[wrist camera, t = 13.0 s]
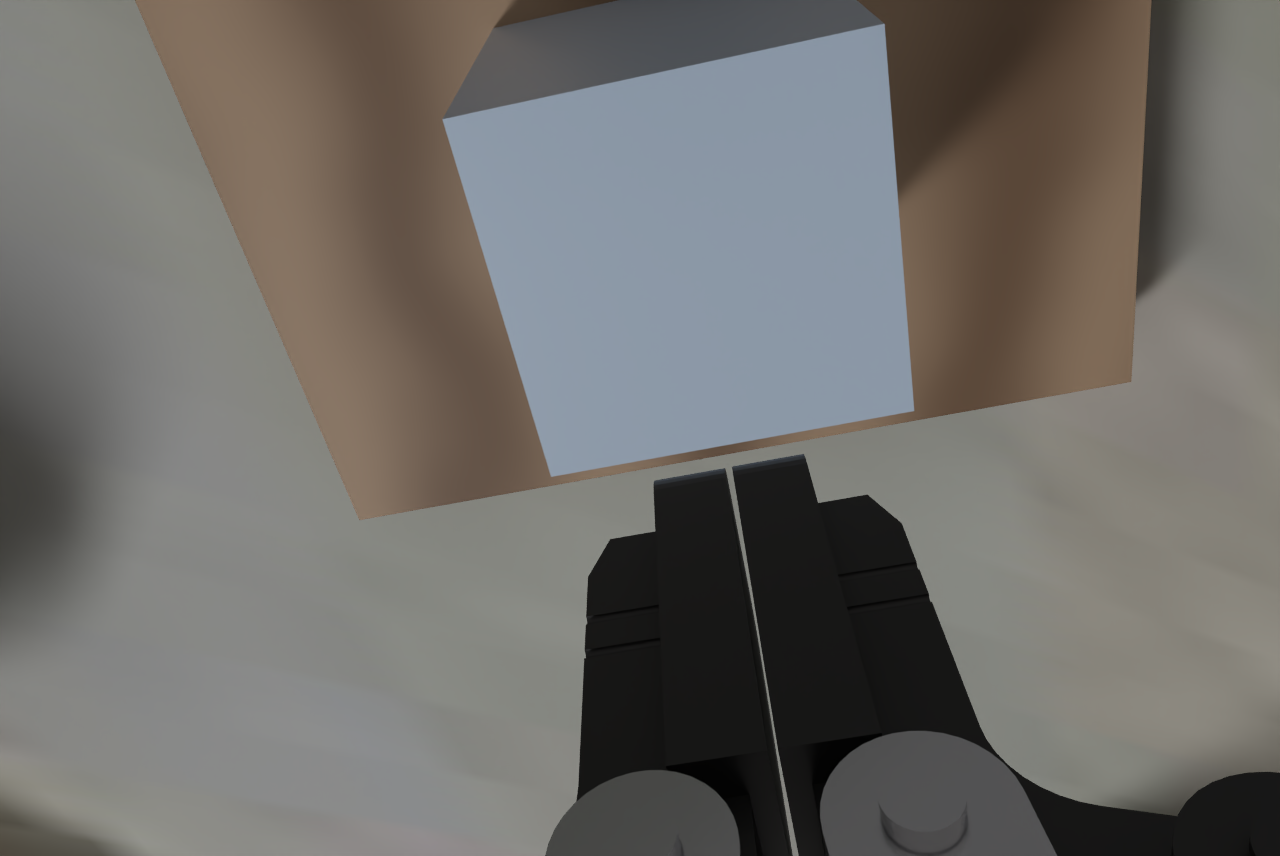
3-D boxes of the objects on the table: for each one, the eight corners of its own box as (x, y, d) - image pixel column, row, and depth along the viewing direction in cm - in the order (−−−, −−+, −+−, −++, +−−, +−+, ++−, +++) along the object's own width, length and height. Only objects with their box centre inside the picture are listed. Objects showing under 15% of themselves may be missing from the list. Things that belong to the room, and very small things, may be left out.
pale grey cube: (568, 309, 24) (551, 476, 18) (493, 28, 21) (442, 119, 15) (839, 256, 24) (914, 411, 18) (806, -42, 20) (884, 23, 14)
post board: (378, 467, 29) (311, 653, 23) (121, -166, 21) (-96, -151, 15) (1091, 337, 28) (1234, 498, 21) (1113, -412, 19) (1358, -517, 13)
